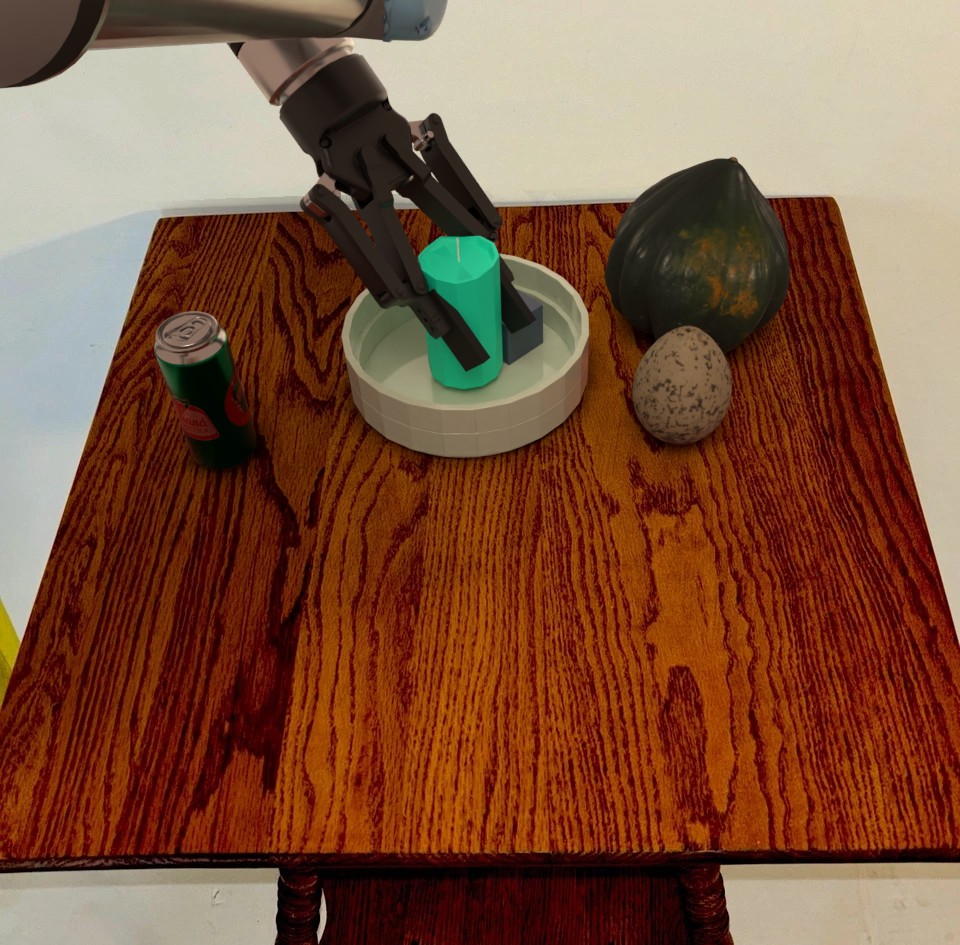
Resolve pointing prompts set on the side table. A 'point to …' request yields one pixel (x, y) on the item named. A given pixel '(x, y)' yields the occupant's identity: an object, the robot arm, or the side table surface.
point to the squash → (700, 256)
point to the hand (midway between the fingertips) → (501, 345)
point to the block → (523, 333)
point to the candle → (465, 304)
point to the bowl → (474, 411)
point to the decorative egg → (682, 386)
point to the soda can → (205, 390)
